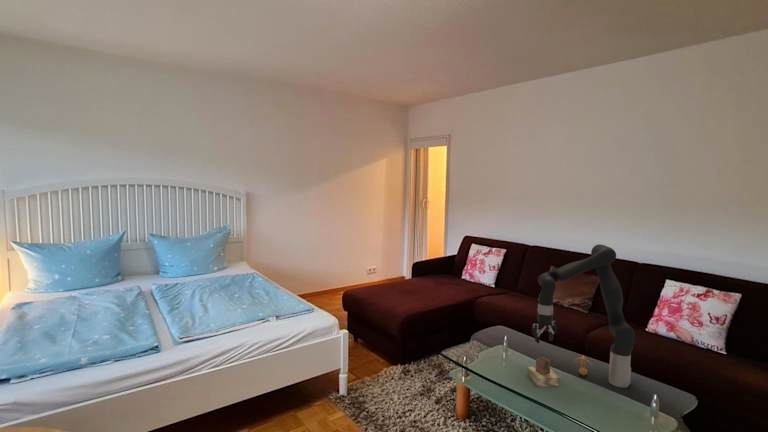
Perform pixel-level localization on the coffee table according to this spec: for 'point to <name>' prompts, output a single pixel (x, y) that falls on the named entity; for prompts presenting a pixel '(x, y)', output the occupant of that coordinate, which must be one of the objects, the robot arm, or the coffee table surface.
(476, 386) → the coffee table surface
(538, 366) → the walnut block
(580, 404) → the coffee table surface
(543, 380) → the birch block
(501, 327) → the coffee table surface
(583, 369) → the figurine
